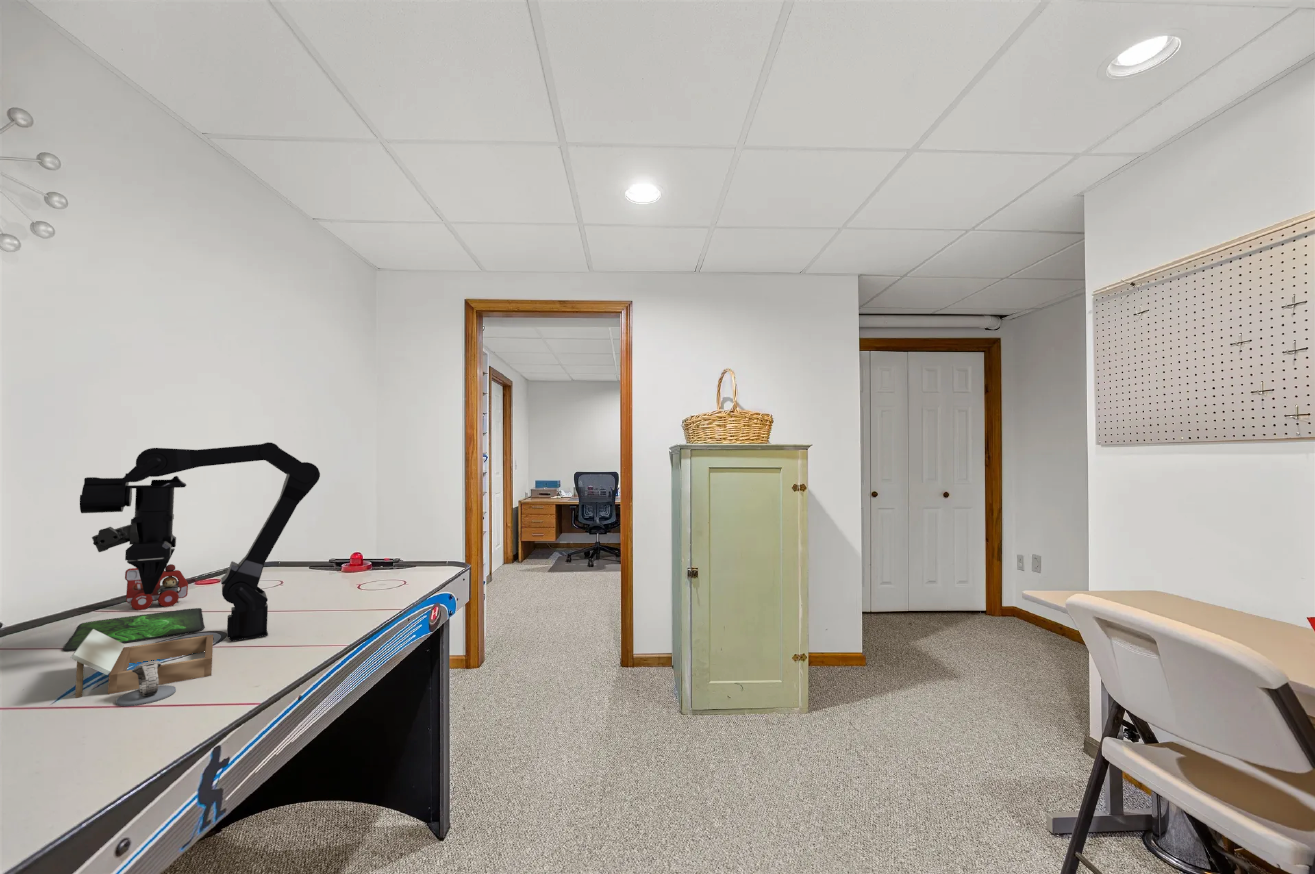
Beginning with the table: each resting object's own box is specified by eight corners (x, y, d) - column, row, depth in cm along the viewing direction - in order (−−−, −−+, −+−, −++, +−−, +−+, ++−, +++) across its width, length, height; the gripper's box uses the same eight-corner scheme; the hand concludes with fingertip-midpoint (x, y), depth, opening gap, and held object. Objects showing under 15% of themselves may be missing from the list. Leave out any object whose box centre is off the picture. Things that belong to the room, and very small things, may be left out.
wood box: (212, 649, 111) (214, 613, 111) (211, 675, 98) (213, 634, 98) (88, 669, 100) (90, 629, 101) (67, 701, 87) (70, 655, 87)
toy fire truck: (187, 604, 146) (189, 564, 147) (121, 612, 138) (124, 570, 139) (187, 599, 152) (189, 561, 152) (124, 607, 144) (126, 566, 144)
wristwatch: (157, 685, 92) (158, 654, 92) (165, 695, 88) (167, 663, 88) (128, 692, 89) (129, 660, 90) (135, 702, 85) (137, 669, 86)
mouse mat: (78, 624, 129) (79, 619, 129) (201, 608, 144) (201, 604, 144) (61, 655, 109) (61, 649, 109) (205, 633, 123) (205, 628, 123)
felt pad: (177, 684, 94) (177, 681, 94) (174, 698, 88) (174, 695, 88) (119, 694, 89) (119, 692, 89) (112, 710, 84) (112, 707, 84)
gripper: (105, 509, 114) (101, 587, 113) (88, 516, 99) (83, 605, 98) (177, 507, 120) (174, 580, 120) (171, 513, 106) (167, 596, 105)
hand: (150, 589), depth 110 cm, fingers open, 9 cm apart
